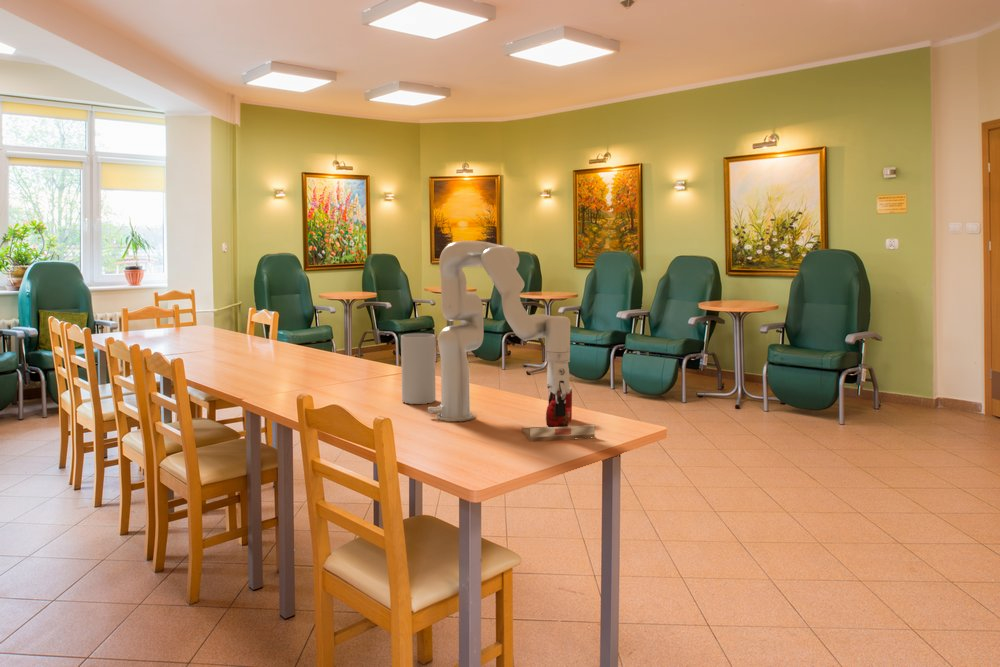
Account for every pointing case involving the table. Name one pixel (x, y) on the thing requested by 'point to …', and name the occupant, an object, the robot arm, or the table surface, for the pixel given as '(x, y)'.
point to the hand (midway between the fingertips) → (556, 412)
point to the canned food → (569, 403)
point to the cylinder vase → (418, 368)
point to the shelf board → (559, 432)
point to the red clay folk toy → (552, 419)
